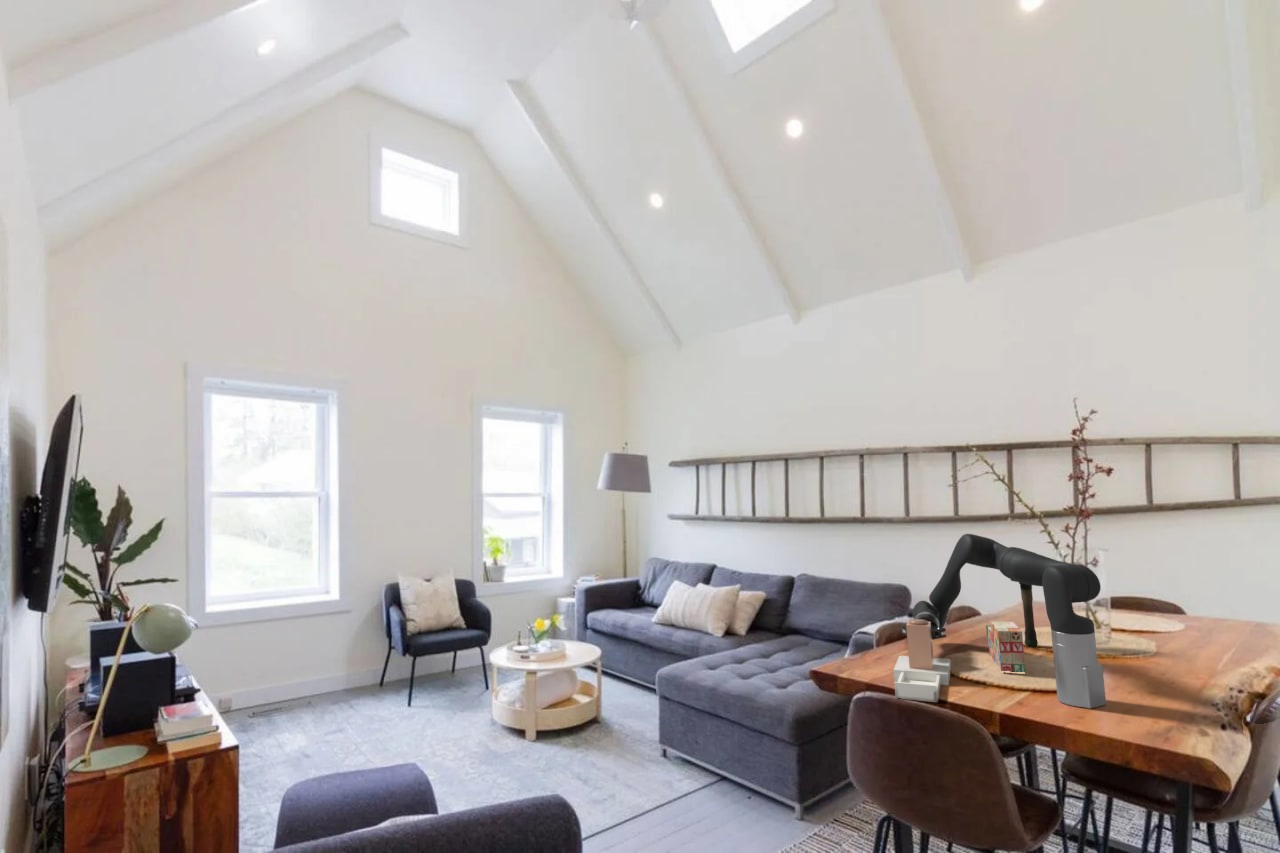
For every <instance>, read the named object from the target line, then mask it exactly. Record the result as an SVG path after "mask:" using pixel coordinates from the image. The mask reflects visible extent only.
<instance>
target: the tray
mask: <svg viewBox="0 0 1280 853" xmlns="http://www.w3.org/2000/svg"><path fill="white" fill-rule="evenodd" d="M941 686H942V685H941V682H940V675H937V676H936V681H935V682H925V681H913V680H905V679H904V672H901V673H900V676H899V679H898V681H894V693H895V694H894V695H895V699H898V698H901V699H900V700H911V701H919V702H920V701H922V702H929V703H931V702H932V703H938V702H939V697H940V692H939V691H941Z"/></svg>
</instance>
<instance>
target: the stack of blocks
mask: <svg viewBox="0 0 1280 853" xmlns="http://www.w3.org/2000/svg"><path fill="white" fill-rule="evenodd" d="M985 626H986V627H985V628H986V635H987V644H988V653H989V656H990V658H991V657H992V658H991V659H992V661H993V660H994V661H995V662H996V664H997V665H998V666H999V668H1000V670H1001V671H1010V672H1025V673H1026V663H1025V653H1024V652H1025V648H1024V637H1023V631H1022V630H1021V629H1020V627H1019V626H1018V625H1017V624H1016V623H1014V621H990V624H986V625H985ZM994 661H993V662H994ZM995 662H994V663H995ZM996 664H995V665H996ZM997 665H996V666H997ZM1000 670H999V671H1000Z"/></svg>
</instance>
